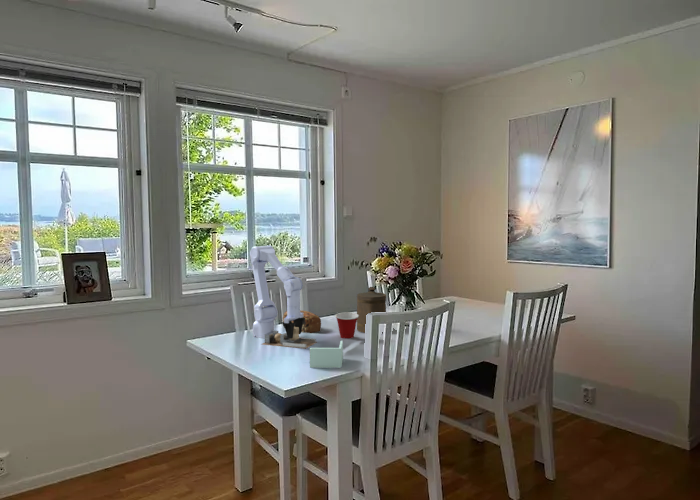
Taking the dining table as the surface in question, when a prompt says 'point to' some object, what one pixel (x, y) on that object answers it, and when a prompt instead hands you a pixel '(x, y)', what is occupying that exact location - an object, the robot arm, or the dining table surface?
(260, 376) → the dining table surface
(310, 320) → the bread
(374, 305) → the wooden container
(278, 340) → the tan ball
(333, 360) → the right angle wall
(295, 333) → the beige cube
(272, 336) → the press base
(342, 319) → the plastic cup
